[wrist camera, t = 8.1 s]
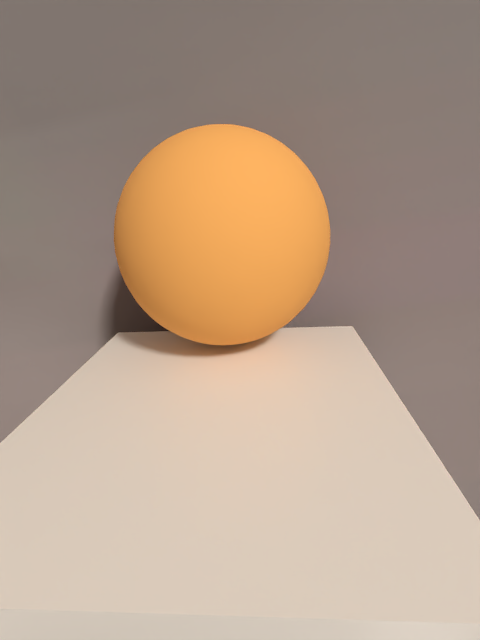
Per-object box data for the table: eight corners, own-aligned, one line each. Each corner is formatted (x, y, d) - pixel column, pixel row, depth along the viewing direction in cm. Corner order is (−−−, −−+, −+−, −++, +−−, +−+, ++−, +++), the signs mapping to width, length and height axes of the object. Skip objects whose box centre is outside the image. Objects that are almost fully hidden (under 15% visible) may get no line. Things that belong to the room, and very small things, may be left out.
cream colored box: (344, 515, 13) (451, 955, 5) (147, 513, 13) (0, 912, 6) (352, 326, 11) (550, 627, 3) (118, 332, 11) (-170, 602, 4)
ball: (362, 319, 10) (393, 111, 7) (217, 428, 8) (169, 191, 5) (242, 258, 13) (227, 97, 10) (113, 324, 11) (43, 140, 8)
